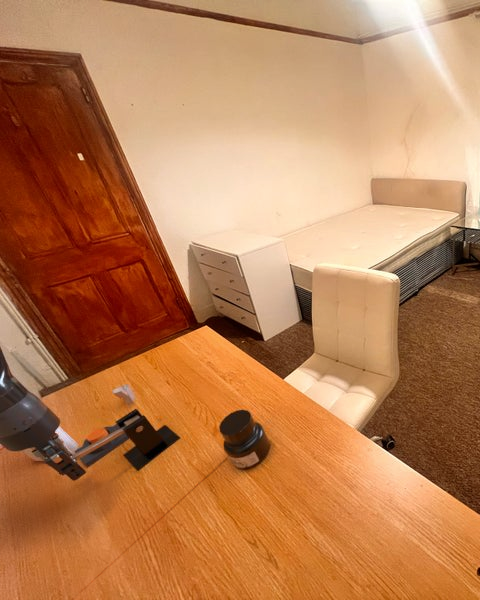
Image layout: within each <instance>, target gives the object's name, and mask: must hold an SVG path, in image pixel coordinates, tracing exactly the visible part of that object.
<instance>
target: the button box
mask: <svg viewBox="0 0 480 600" xmlns="http://www.w3.org/2000/svg"><path fill="white" fill-rule="evenodd" d="M103 428H104V429H105V430H106V431H107V432H108V433H109V434H111V433H113V432H115V431H117V430H118V429H120V427H119V426H118V425H117V424H116V423H115V424H114V425H111V426H107V425H106V426H104V427H103ZM128 440H130V439H129V437H128V436H127V435H126V434H125V433H123V434H122V435H120V436H118V437H116V438H115V439H113V440H111V441H109V442H108V443H106V444H104V445H102V446H101V447H99V448H97V449H95V450H94V451H92V452H90V453H88V454H87V455H85V456H83V457H81V458H80V459H79V460H80V461H81V463H82V464H83V466H85V467H86V468H89V467H91V466H92V465H94V464H95V463H97V462H98V461H99V460H102V459H103V458H104V457H106V455H109V453H111V452H112V451H114V450H115V449H117V448H119V446H121V445H123V443H125V442H126V441H128ZM90 445H91V443H90V442H89V441H88V440H87V438H85V439H84V440H83V443H82V446H79V447H78V449H77V450H76V451H74V452H75V453H77V452H79V451H81V450H82V449H84V448H86V447H88V446H90ZM75 453H74V454H75Z"/></svg>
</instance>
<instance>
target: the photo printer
mask: <svg viewBox="0 0 480 600" xmlns="http://www.w3.org/2000/svg"><path fill="white" fill-rule="evenodd" d="M56 432H57V434H58V435H59V437H60V438H61V439H62V440H63V441H64V443H63V444H64V445H65V446H66V447H67V448H68V449H69V450H70V451H71V454H72V455H73V454H75V452H74V451H76V450H77V449H79V448H80V445H79V444H78V443H77V442H76V440H74V439H73V438H72V437H71V436H70V435H69V433H67V432H66V431H65V430H64V429H63V428H62V427H61V426H59V427H58V428H57V430H56ZM31 451H32V450H31V449H30V448H28V449H25V450H22V451H21V452H22V453H23V454H25V455H26V456H28V457H29V458H30V459H31V460H33V461H35V462H44V461H43V460H42V459H41V458H38V457H36V456H35V455H34V454H33V453H32V452H31Z"/></svg>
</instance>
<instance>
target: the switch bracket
mask: <svg viewBox="0 0 480 600" xmlns="http://www.w3.org/2000/svg"><path fill="white" fill-rule="evenodd" d="M136 415H138V416H139V417H140V418H138V419H137V420H135V421H134V422H132V423H131V424H129V425H128V426H126V427H125V428H123V430H124V432H125V434H126V435H127V436H128V437H129V439H128V440H130V441H131V442H132V444H133V445H134V446H133V447H132V448H130V449H129V450H127V451H126V452H125V453H123V454H122V456H123V457H124V459H126V460H127V461H128V463H130V465H131V466H132V467H133V468H134V469H135V470H136V471H137V472H139V471H140V470H142V469H143V468H144V467H145V466H147V465H148V464H150V463H151V462H152V461H154V460H155V459H156V458H157V457H158V456H160V455H161V454H162V453H164V452H165V451H166V450H167V449H169V448H170V447H172V446H173V445H174V444H175V443H176V442H177V441H179V440H181V437H180V436H179V435H178V434H177V433H176V432H174V431H173V430H172V429H171V428H170V427H169V426H167V425H166V424H163V425H162V426H161V427H159V428H158V429H156V428H155V427H154V426H153V425H152V423H151V421H149V420H148V418H147V417H146V416H145V415H142V413H141V412H140V411H139V410H138V408H134V409H133V410H131V411H130V412H128V413H127V414H125V415H124V416H122V417H121V418H118V419H117V420H116V421H115V425H116V424H117V425H118V426H119V427H120V428H122V427H124V426H125V425H124V422H125V421H127V420H129V419H131V418H132V417H134V416H136Z"/></svg>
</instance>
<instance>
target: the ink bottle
mask: <svg viewBox="0 0 480 600" xmlns="http://www.w3.org/2000/svg"><path fill="white" fill-rule="evenodd" d="M218 429H219V433H220V435H221V436H222V438H223V439H224V440H223V450H224V452H225V454H226V455H227V457H228V458H229V460H230V463H231V464H232V465H233V466H234V467H235V468H237V469H241V470H249V469H253V468H255V467H256V466H258V465H259V464H260V463H261V462H262V461H263V460H265V458H266V457H267V456H268V454H269V451H270V449H271V442H270V439H269V437H268V435H267V433H266V431H265V429H264V427H263V425H262V424H261V423H260V422H258V421H255V420H254V418H253V415H252V414H251V412H250V411H249V410H246V409H238V410H237V409H236V410H235V411H233V412H230V413H229V414H227V415H226V416H225V417H224V418H223V419H222V420H221V421H220V424H219V426H218Z"/></svg>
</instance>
